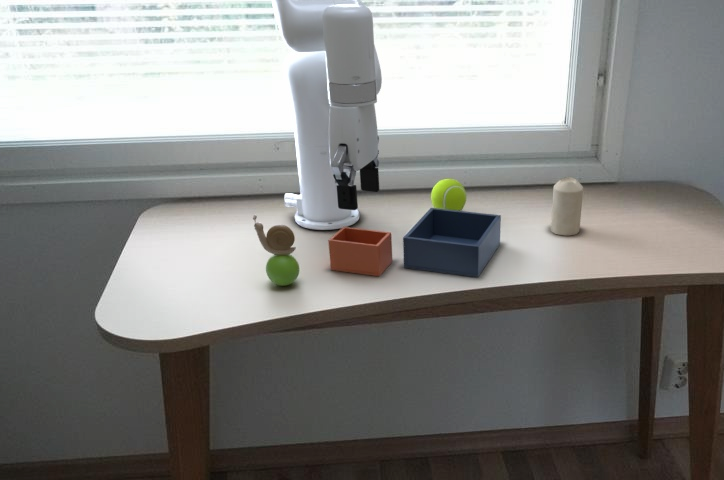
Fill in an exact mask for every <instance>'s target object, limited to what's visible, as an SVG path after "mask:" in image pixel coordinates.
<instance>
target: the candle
mask: <svg viewBox="0 0 724 480" xmlns="http://www.w3.org/2000/svg"><path fill="white" fill-rule="evenodd" d="M583 197H584V186H583V185H582V184H581V182H579V181H578V180H577V179H575V177H572V176H570V177H564V178H563V179H562V178H560V179H559V180H558V181H557V182H556V183H555V184H554V185H553V190H552V204H551V218H550V219H551V221H550V231H551V232H552V233H553V234H556V235H559V236H574V235H577V234H578V233H579V232H580V229H581V219H582V218H581V217H582V207H583Z"/></svg>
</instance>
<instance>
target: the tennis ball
mask: <svg viewBox="0 0 724 480" xmlns="http://www.w3.org/2000/svg"><path fill="white" fill-rule="evenodd" d="M430 193H431V194H430V200H431V204H432V206H433V208H439V209H448V210H457V211H462V210H463V208H464V207H465V205H466V201H467V191H466V189H465V186H464V185H463V184H462V183H461V182H459V181H458V180H456V179H453V178H443V179H441V180H439V181H438V182H437V183H436V184H435V185H434V186H433V188H432V189H431V192H430Z"/></svg>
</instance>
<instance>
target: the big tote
mask: <svg viewBox="0 0 724 480" xmlns="http://www.w3.org/2000/svg"><path fill="white" fill-rule="evenodd" d="M501 222H502V215H501V214H492V213H483V212H474V211H465V210H460V211H457V210H448V209H439V208H434V207H430V208H429V209H428V210H427V211H426V212H425V213H424V214H423V215H422V216H421V217H420V218H419V220H418V221H416V223H415V224H414V225H413V226H412V227H411V228H410V229H409V231H407V233H406V234H405V235H404V236H403V237H402V250H403V268H404V269H409V270H418V271H424V272H425V271H426V272H431V273H441V274H447V275H448V274H449V275H457V276H463V277H464V276H465V277H471V278H479V276H480V275H481V274H482V272H483V270H484V269H485V267H486V266H487V265H488V263H489V261H490V260H491V259H492V257H493V255H494V254H495V252H496V251H497V250H498V248H499V246H500V245H501V227H502V225H501V224H502V223H501Z"/></svg>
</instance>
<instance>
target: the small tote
mask: <svg viewBox="0 0 724 480" xmlns="http://www.w3.org/2000/svg"><path fill="white" fill-rule="evenodd" d="M327 243H328V254H329V264H330V266H329V267H330V271H335V272H343V273H350V274H358V275H359V274H360V275H366V276H373V277H381V275H382V274H383V273H384V272H385V271H386V270H387V269H388V267H389V266H391V264H392V263H393V239H392V232H391V231H383V230H374V229H367V228H359V227H358V228H357V227H350V226H347V227H343V228H339V230H338V231H337V232H336V233H334V234H333V235H332V236H331V237H330V238H329V239H328V241H327Z"/></svg>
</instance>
